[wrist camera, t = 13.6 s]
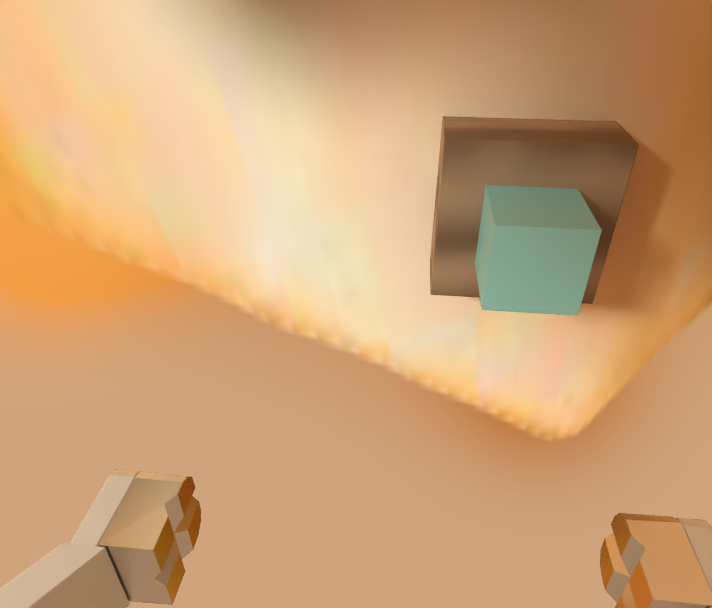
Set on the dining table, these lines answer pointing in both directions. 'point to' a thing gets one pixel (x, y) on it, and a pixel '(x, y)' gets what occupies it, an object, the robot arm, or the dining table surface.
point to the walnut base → (521, 183)
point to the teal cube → (535, 249)
